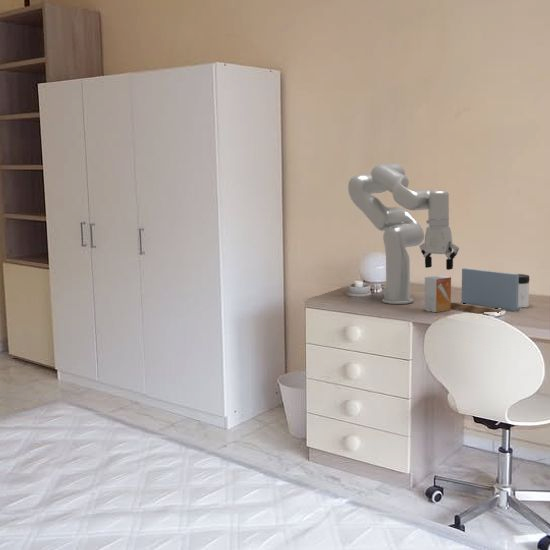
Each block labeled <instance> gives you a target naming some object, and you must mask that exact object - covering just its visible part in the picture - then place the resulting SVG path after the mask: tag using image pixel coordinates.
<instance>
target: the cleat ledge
mask: <svg viewBox="0 0 550 550" xmlns="http://www.w3.org/2000/svg"><path fill="white" fill-rule="evenodd" d="M450 308H452V309H451V310H454V309H458V310H457V311H460V310H463V311H462V312H466V311H468V312H469V313H474V314H479V313H484V312H497V313H499V312H501V311H502V309H495V308H489V307H482V306H476V305H470V304H463V303H461V302H455V301H451V306H450Z"/></svg>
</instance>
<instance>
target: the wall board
mask: <svg viewBox="0 0 550 550" xmlns="http://www.w3.org/2000/svg"><path fill="white" fill-rule="evenodd" d="M519 274H520V273H509V272H501V271H490V270H482V269H475V268H474V269H473V268H463V267H462V269H461V302H460V303H466V304H469V305H470V304H471V305H477V306H482V307H488V308H501V310H502V309H506V310H505V311H508V310H510V311H511V312H515V311H516V312H518V310H519V311H520V309H521V308H518V287H519Z"/></svg>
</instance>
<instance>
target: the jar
mask: <svg viewBox="0 0 550 550" xmlns="http://www.w3.org/2000/svg"><path fill="white" fill-rule="evenodd" d="M518 274H519V287H518V308H520V309H522V308H523V307H524V308H529V299H530V297H529V295H530V275H528V274H524V273H518ZM524 308H523V309H524Z"/></svg>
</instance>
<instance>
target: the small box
mask: <svg viewBox="0 0 550 550" xmlns="http://www.w3.org/2000/svg"><path fill="white" fill-rule="evenodd" d="M451 300H452V277H451V276H447V275H440V274H438V275H433V276H426V277H424V311H426V312H430V311H432V312H431V313H435V312H437V313H441V312H445V311H444V310H447V311H451V309H450V306H451V302H452V301H451ZM440 311H441V312H440Z"/></svg>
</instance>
